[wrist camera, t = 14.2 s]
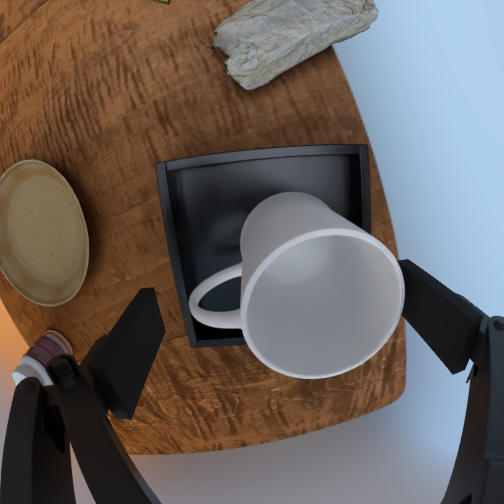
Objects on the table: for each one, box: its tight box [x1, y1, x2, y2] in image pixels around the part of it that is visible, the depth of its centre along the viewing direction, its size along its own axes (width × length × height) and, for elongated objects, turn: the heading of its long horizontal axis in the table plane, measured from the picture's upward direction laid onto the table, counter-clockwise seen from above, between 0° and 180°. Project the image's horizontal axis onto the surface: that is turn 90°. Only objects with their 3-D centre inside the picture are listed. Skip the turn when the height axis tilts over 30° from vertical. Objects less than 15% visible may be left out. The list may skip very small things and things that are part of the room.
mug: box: [189, 192, 405, 379], centre depth 18 cm, size 12×8×12 cm
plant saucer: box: [0, 160, 89, 307], centre depth 22 cm, size 15×15×3 cm
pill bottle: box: [12, 330, 73, 386], centre depth 24 cm, size 5×5×8 cm
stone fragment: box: [201, 0, 378, 90], centre depth 16 cm, size 19×8×5 cm, turn 136°
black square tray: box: [155, 144, 371, 348], centre depth 23 cm, size 16×16×3 cm
